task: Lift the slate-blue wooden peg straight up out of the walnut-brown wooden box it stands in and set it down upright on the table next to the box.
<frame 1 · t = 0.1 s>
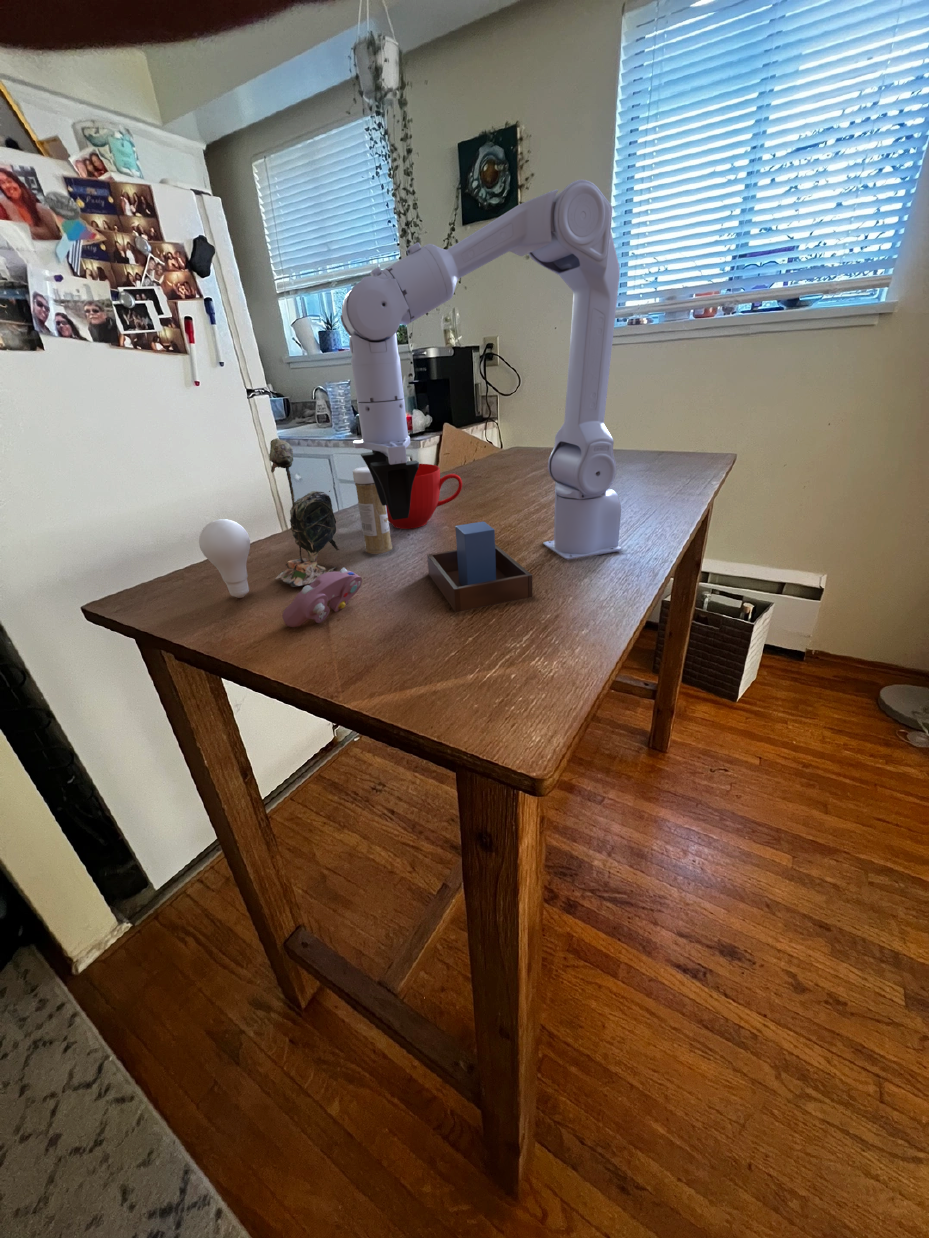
hand: (394, 511, 67), 10 cm above the table, tool pointing down, fingers open, 7 cm apart
peg: (477, 584, 68), resting on box
box: (477, 587, 68), on the table
ceramic cup: (420, 524, 96), on the table
lightbulb: (241, 598, 70), on the table
video game controller: (328, 616, 63), on the table
ostrich figurine: (313, 576, 76), on the table
sprinkles bottle: (379, 552, 83), on the table
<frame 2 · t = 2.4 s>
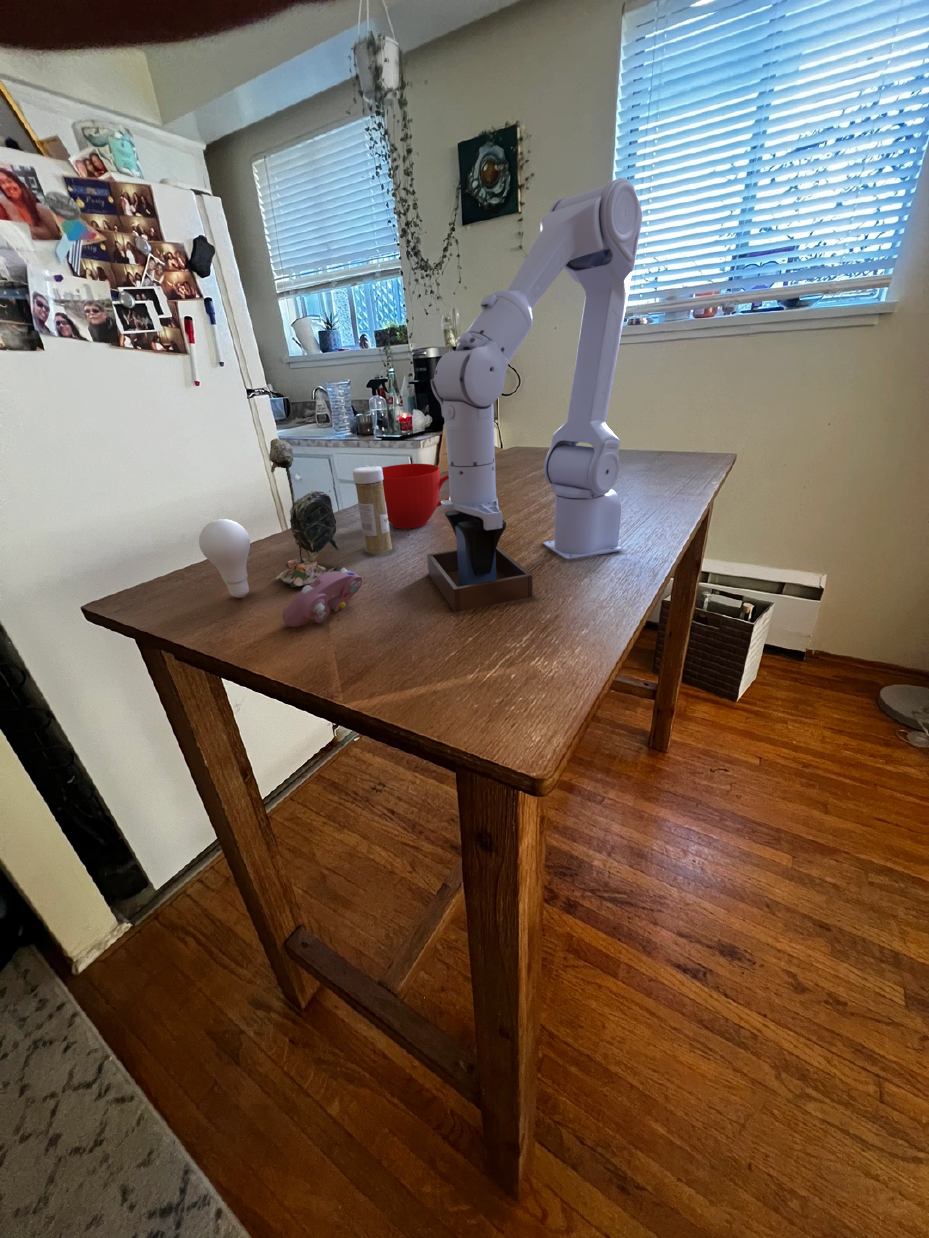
hand: (476, 567, 67), 3 cm above the table, tool pointing down, fingers closed on peg, 4 cm apart
peg: (477, 584, 68), resting on box, touching gripper
everything else where it was.
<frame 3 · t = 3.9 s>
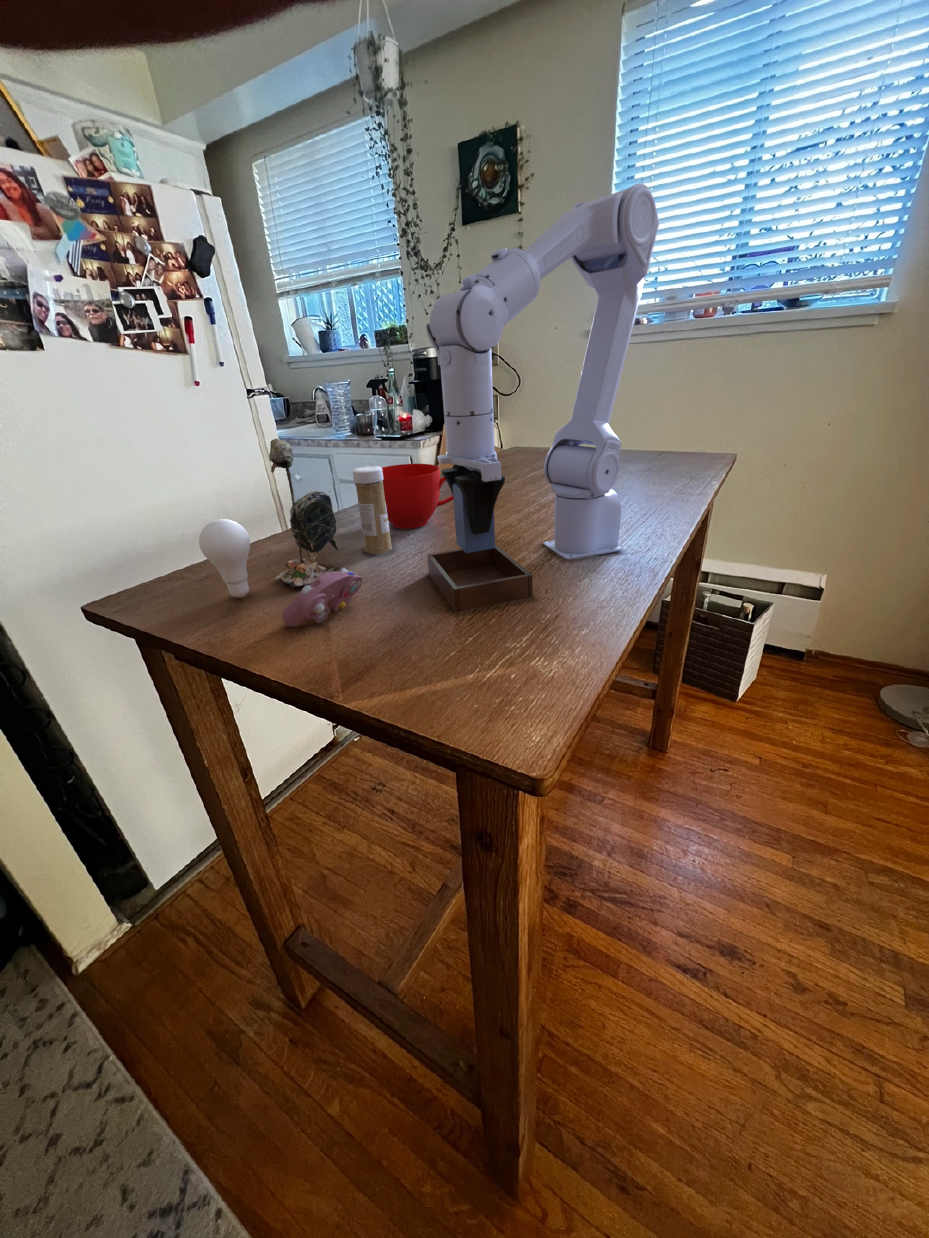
hand: (474, 527, 64), 8 cm above the table, tool pointing down, fingers closed on peg, 4 cm apart
peg: (475, 546, 65), point 6 cm above the table, touching gripper
everything else where it was.
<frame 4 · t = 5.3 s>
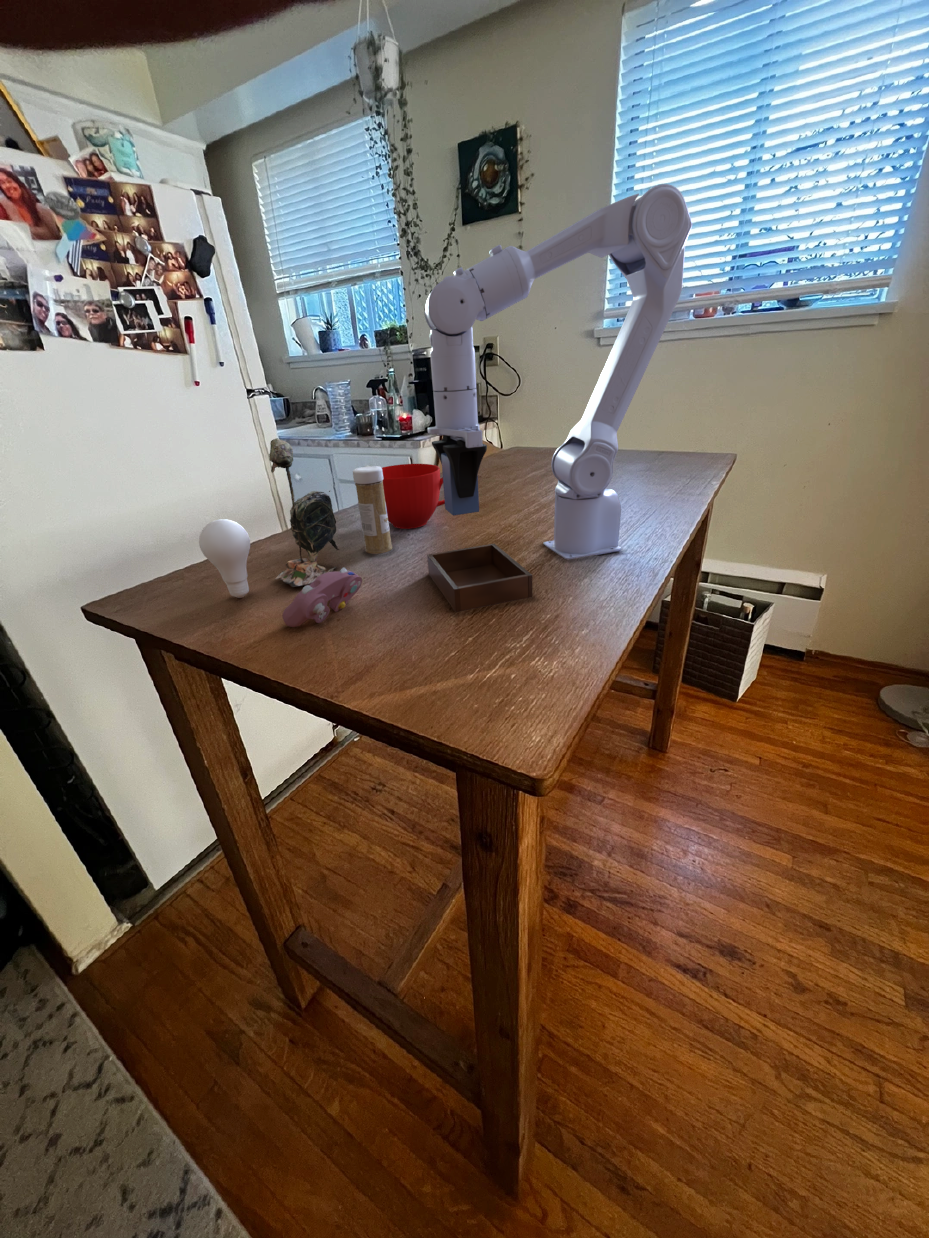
hand: (461, 493, 72), 10 cm above the table, tool pointing down, fingers closed on peg, 4 cm apart
peg: (462, 510, 73), point 8 cm above the table, touching gripper
everything else where it was.
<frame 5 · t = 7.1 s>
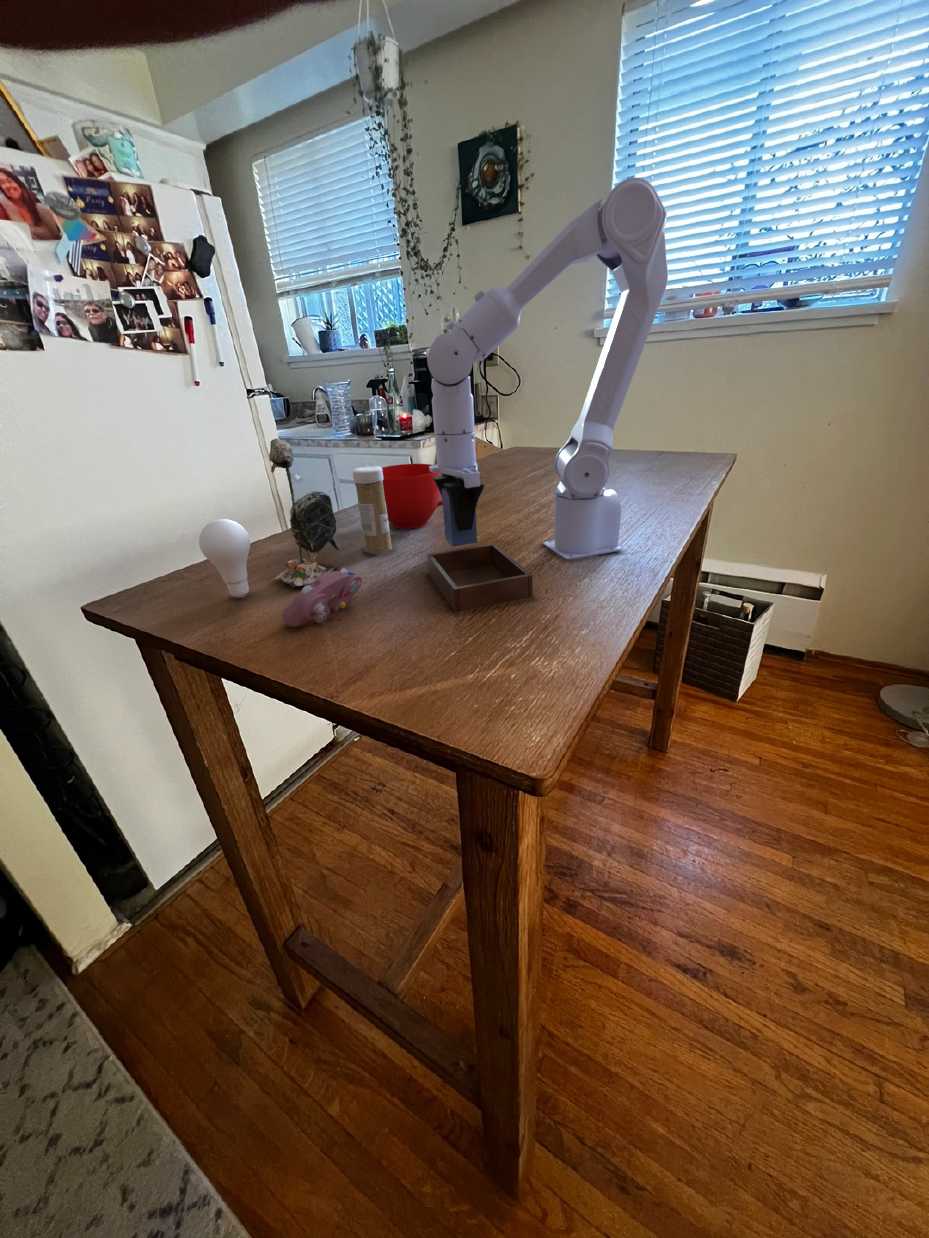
hand: (460, 525, 77), 5 cm above the table, tool pointing down, fingers closed on peg, 4 cm apart
peg: (461, 540, 78), point 2 cm above the table, touching gripper
everything else where it was.
when the fingers open (2 cm above the table, at t = 8.3 s): peg stays where it is, on the table.
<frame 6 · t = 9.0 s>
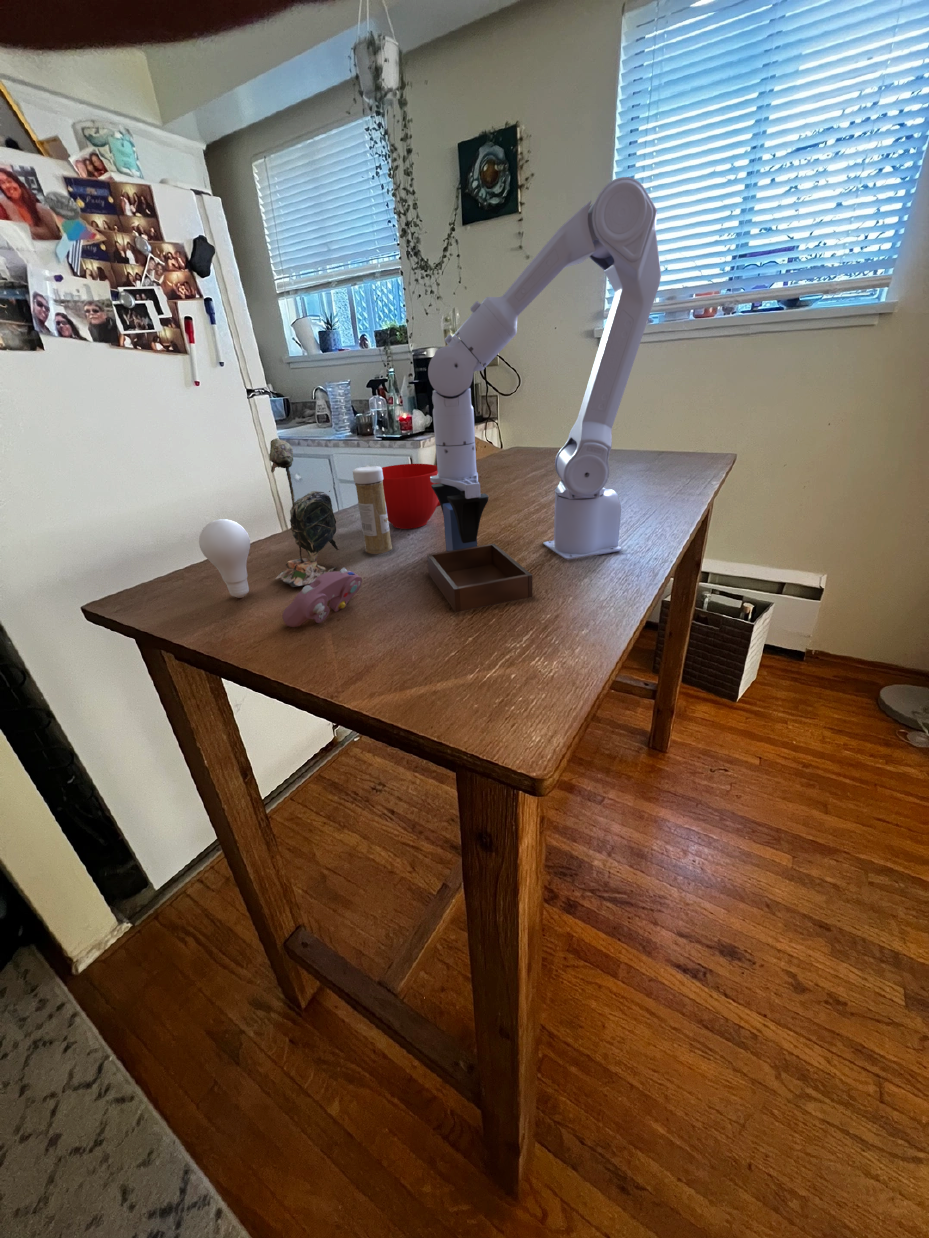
hand: (461, 534, 78), 3 cm above the table, tool pointing down, fingers open, 7 cm apart
peg: (461, 554, 80), on the table
everything else where it was.
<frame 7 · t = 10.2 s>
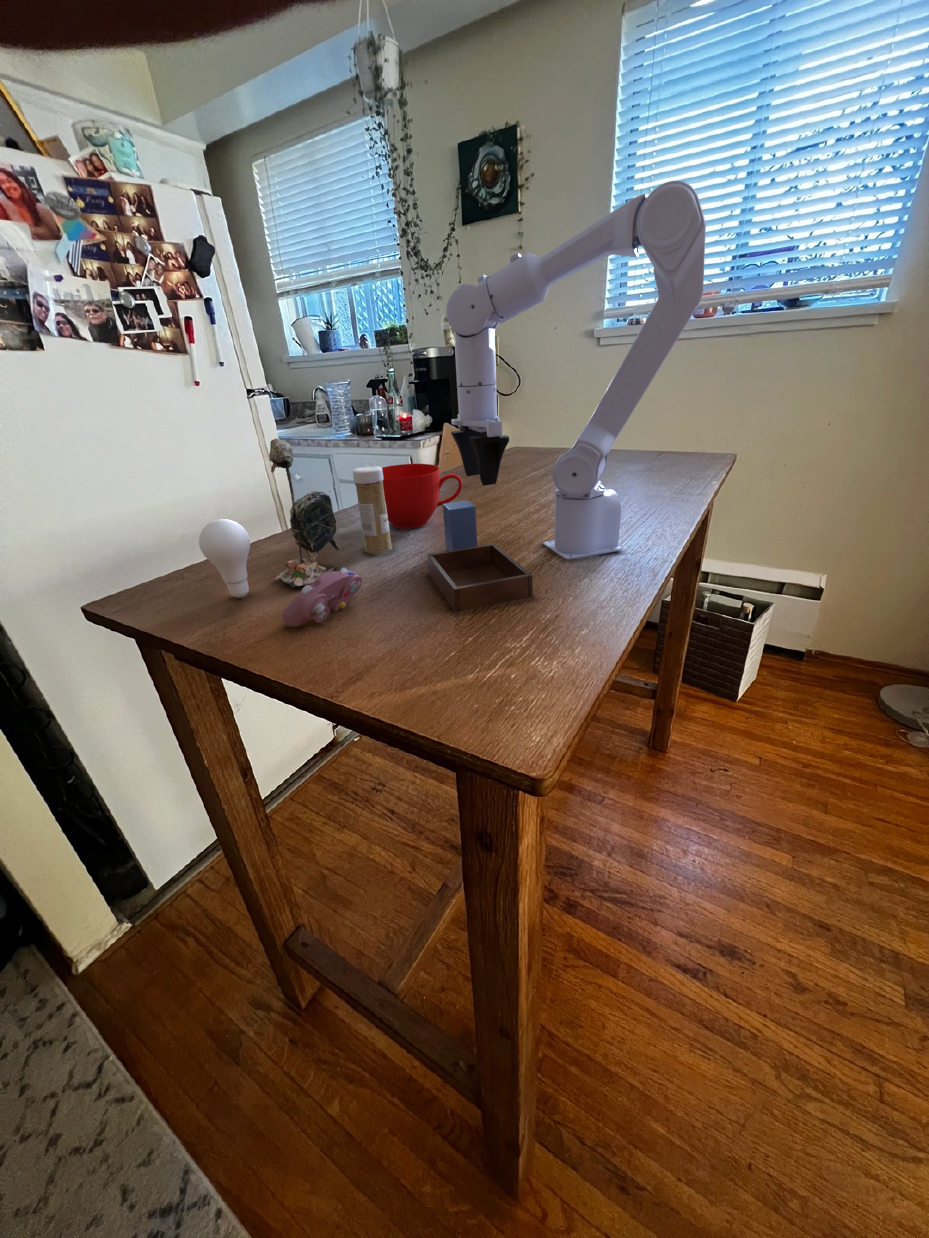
hand: (480, 479, 79), 10 cm above the table, tool pointing down, fingers open, 7 cm apart
nothing on the table moved.
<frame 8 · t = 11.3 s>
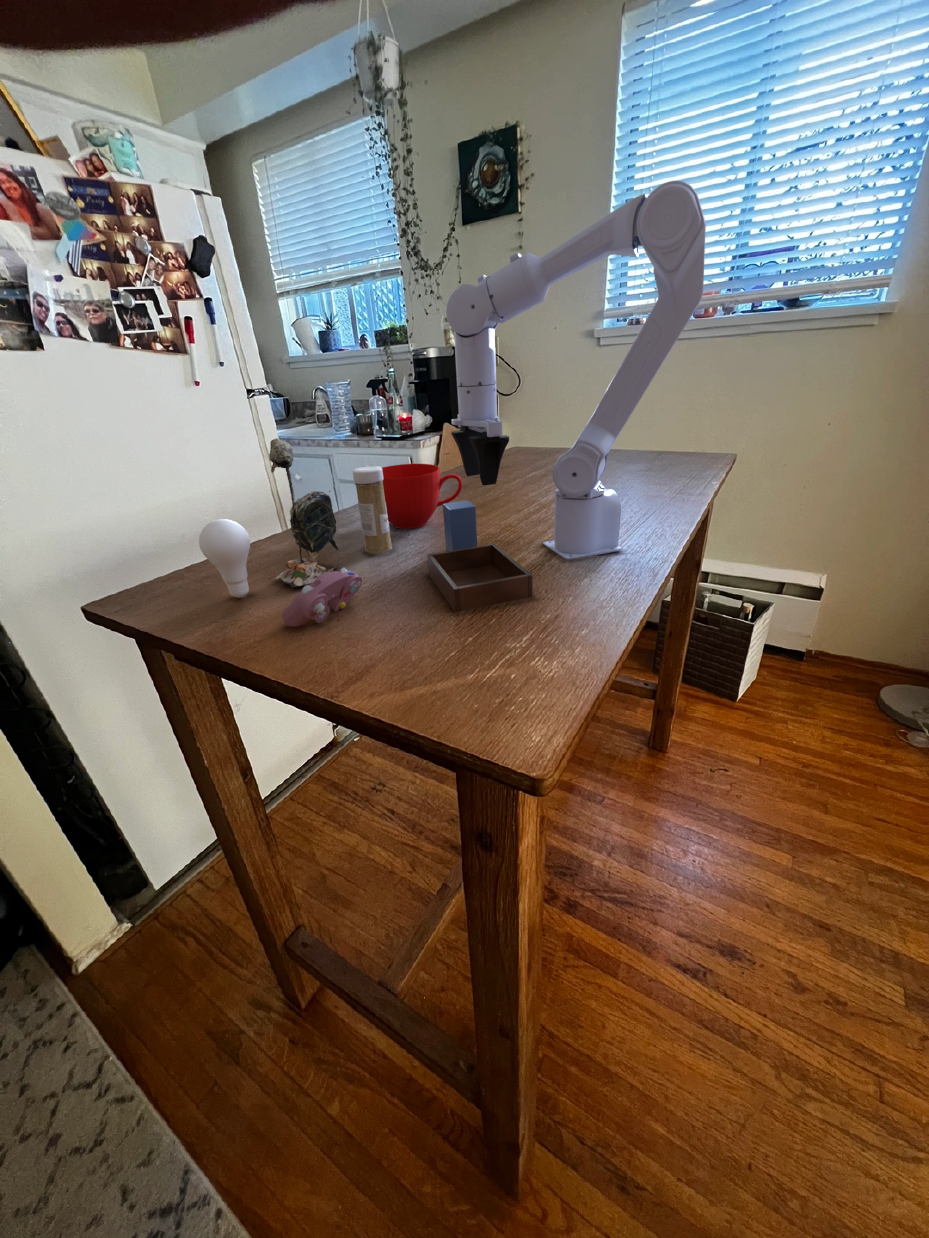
hand: (480, 479, 79), 10 cm above the table, tool pointing down, fingers open, 7 cm apart
nothing on the table moved.
at the end: peg inside the target area (0.1 cm from its centre), on the table; peg tilted 0°; peg touching table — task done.
